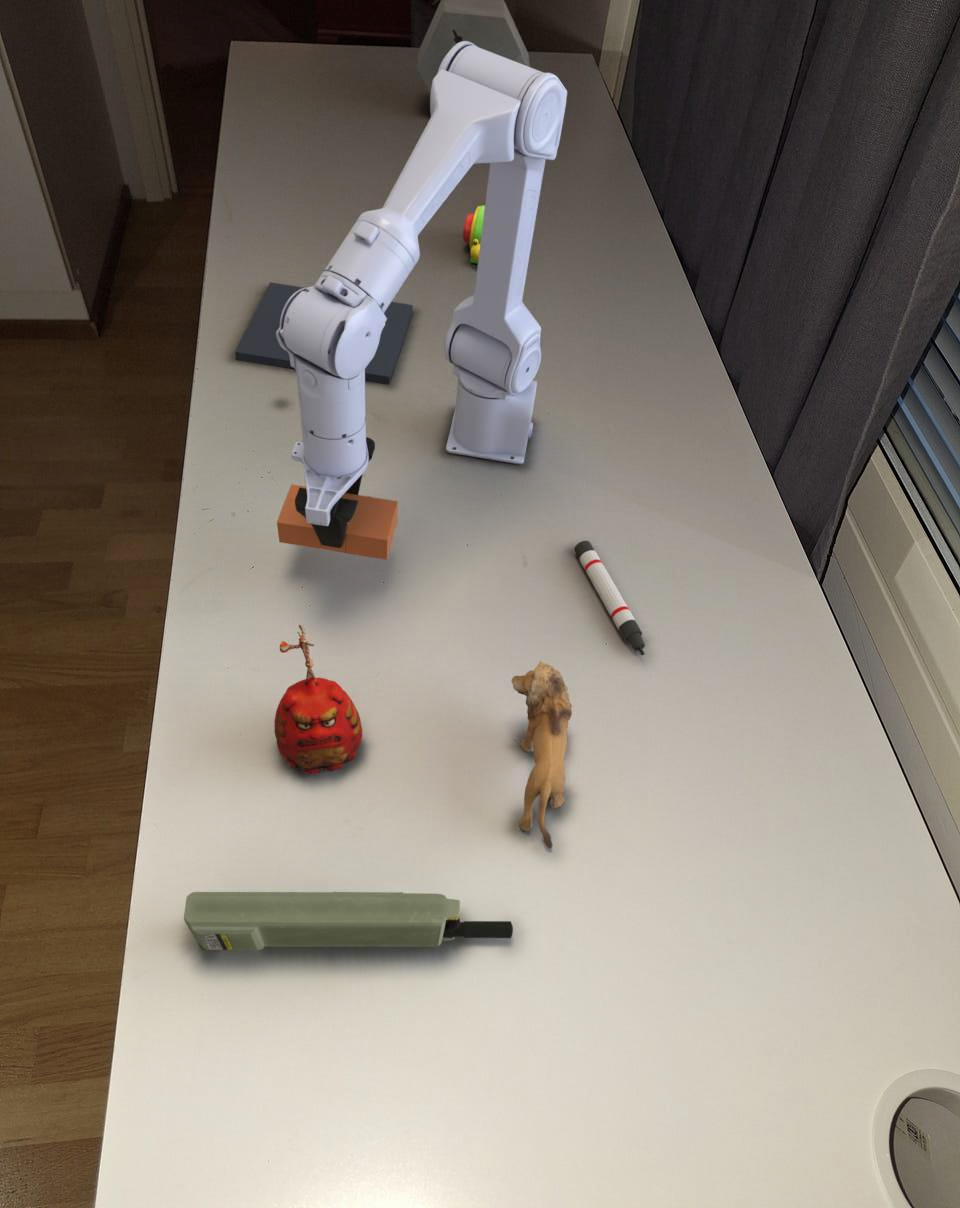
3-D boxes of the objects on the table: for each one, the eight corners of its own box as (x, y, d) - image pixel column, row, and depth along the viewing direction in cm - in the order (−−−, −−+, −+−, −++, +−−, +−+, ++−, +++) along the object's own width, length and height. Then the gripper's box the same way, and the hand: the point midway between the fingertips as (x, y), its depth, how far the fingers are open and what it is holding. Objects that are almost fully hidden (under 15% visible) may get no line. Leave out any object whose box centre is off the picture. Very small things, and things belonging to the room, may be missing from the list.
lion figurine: (502, 707, 87) (512, 654, 80) (556, 705, 88) (571, 652, 81) (521, 852, 78) (535, 808, 71) (581, 849, 79) (600, 804, 72)
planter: (541, 83, 163) (488, -35, 148) (544, 102, 158) (489, -17, 144) (460, 129, 169) (401, 21, 155) (460, 149, 164) (399, 39, 150)
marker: (572, 554, 100) (575, 542, 99) (588, 550, 101) (591, 538, 99) (633, 663, 92) (638, 652, 90) (650, 659, 92) (655, 647, 91)
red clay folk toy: (284, 786, 80) (268, 697, 68) (272, 719, 84) (255, 624, 72) (368, 768, 82) (367, 678, 70) (353, 703, 86) (349, 608, 74)
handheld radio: (202, 911, 73) (509, 912, 75) (196, 953, 71) (511, 953, 73) (188, 884, 67) (519, 886, 70) (181, 929, 66) (521, 930, 68)
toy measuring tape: (453, 267, 133) (457, 225, 128) (484, 203, 145) (488, 162, 140) (495, 276, 132) (500, 234, 127) (523, 211, 144) (528, 171, 139)
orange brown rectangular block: (397, 521, 94) (398, 501, 91) (387, 560, 90) (387, 540, 88) (293, 504, 94) (291, 483, 91) (279, 542, 90) (276, 522, 88)
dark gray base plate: (412, 312, 125) (413, 274, 120) (389, 384, 115) (390, 345, 111) (270, 289, 125) (266, 250, 121) (235, 359, 115) (229, 320, 111)
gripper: (309, 361, 85) (317, 466, 95) (266, 466, 76) (280, 569, 86) (383, 372, 85) (383, 476, 95) (348, 479, 76) (352, 581, 86)
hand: (339, 521), depth 91 cm, fingers closed on orange brown rectangular block, 5 cm apart
